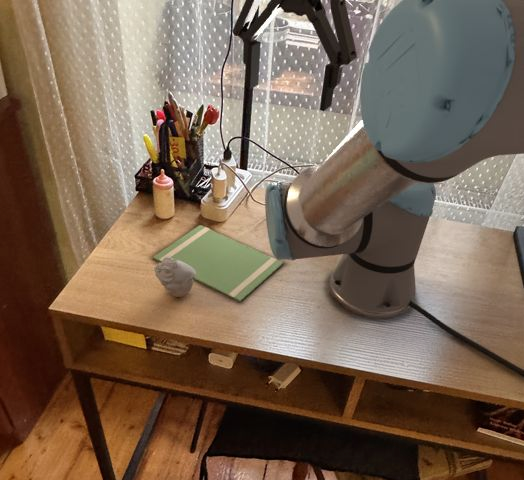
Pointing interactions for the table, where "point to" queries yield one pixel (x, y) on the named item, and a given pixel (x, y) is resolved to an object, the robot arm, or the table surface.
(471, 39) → the robot arm
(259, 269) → the tea towel
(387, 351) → the table surface
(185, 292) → the grey lumpy lump
